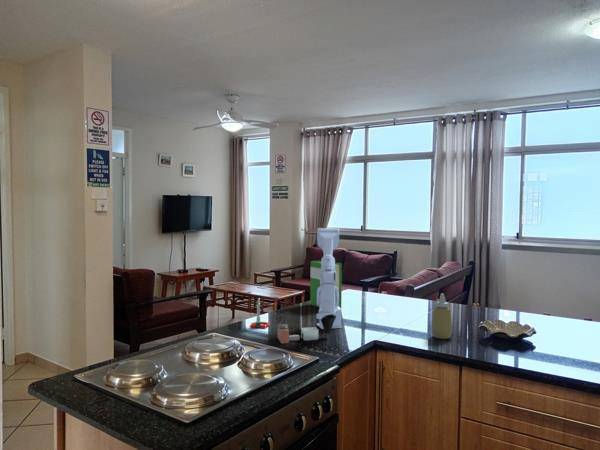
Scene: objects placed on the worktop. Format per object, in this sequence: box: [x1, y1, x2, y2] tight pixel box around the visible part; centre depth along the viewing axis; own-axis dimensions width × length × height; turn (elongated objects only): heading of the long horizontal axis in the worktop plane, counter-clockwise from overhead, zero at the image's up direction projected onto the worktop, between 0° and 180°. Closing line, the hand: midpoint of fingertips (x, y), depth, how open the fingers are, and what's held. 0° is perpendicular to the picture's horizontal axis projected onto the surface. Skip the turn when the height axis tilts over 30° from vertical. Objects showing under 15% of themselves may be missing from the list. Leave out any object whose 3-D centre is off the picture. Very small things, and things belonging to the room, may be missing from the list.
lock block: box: [300, 326, 319, 341], centre depth 174 cm, size 6×4×4 cm, turn 104°
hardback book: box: [309, 260, 343, 310], centre depth 234 cm, size 18×7×24 cm, turn 36°
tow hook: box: [250, 298, 271, 329], centre depth 193 cm, size 8×13×9 cm
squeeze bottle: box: [431, 293, 453, 340], centre depth 177 cm, size 8×8×18 cm
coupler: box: [277, 323, 301, 344], centre depth 172 cm, size 8×8×6 cm
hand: (327, 333), depth 176 cm, fingers closed
